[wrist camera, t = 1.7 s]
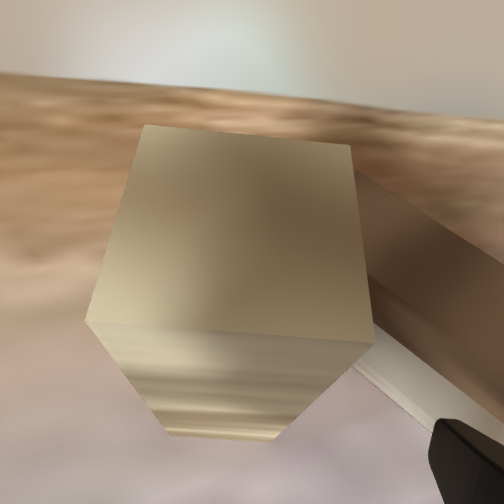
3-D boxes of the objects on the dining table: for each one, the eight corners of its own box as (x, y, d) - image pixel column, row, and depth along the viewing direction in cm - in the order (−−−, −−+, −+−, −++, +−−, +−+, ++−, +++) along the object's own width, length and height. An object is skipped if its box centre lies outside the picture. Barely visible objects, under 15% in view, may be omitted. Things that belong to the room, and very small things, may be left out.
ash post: (270, 442, 17) (375, 343, 6) (169, 435, 17) (84, 320, 6) (272, 344, 19) (350, 144, 8) (184, 338, 19) (144, 124, 8)
